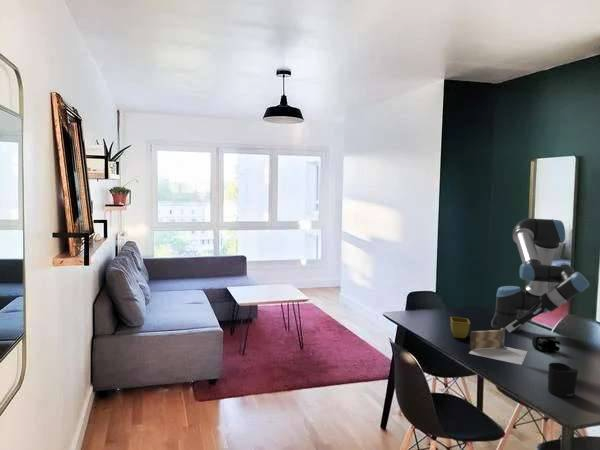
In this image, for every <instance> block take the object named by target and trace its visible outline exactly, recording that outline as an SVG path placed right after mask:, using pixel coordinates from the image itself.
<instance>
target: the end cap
mask: <svg viewBox="0 0 600 450" xmlns="http://www.w3.org/2000/svg"><path fill="white" fill-rule="evenodd" d="M531 344H532V348H533V349H534V350H536V351H538V352H539V353H543V354H549V355H551V354H554V355H555V354H557V353H560V352H559V351H560V345H561V341H560V340H559V339H557V338H556V336H533V338H532V340H531ZM558 345H559V346H558Z"/></svg>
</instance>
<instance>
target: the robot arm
mask: <svg viewBox="0 0 600 450" xmlns="http://www.w3.org/2000/svg"><path fill="white" fill-rule="evenodd" d="M511 235H512V236H511V237H512V241H513V242H514V243H516V246H517V249H518V253H519V256H520V260H521V264H520V266H519V279H520V280H522V281H523V280H524V281H528V282H529V283H528V284H527V285H526V286H525V289H521V287H520V286H517V285H516V286H515V285H504V286H499V287H498V288H497V291H496V300H495V301H496V302H495V312H494V315H493V318H492V319H491V322H490V326H491V328H492V329H494V330H500V331H501V328H505V332H508V333H513V332H514V333H517V332H520V331H521V329H522V326H521V325H525V324H526V323H527V322H529V321H531V320H533V319H534V318H535V317H537V316H539V315H541V314H546V313H548V312H554V311H555V310H557V309H558V308H559V307H560V306H562V305H566V304H567V302H568V301H570V300H571V299H573V298H574V297H576V296H577V295H579V294H581V293H582V292H584V291H585V290H587V289H588V288H589V287H590V284H591V283H590V282H589V281H588V280H587V278H586V277H585V276H584V275H583V274H582V273H581V272H579V271H575V269H574V268H573V267H572V266H571V265H570V264H568V263H566V262H560V263H557V264H556V265H552V264H553V260H554V255H555V250H557V249H558V248H559V246H560V244H564V243H565V241H566V229H565V224H564V222H563V221H562V220H560V219H553V218H552V219H547V218H546V219H545V218H533V217H532V218H524V219H522V220H521V221H519V222H517V223H516V225H515V226H514V227H513V230H512V233H511ZM549 283H554V284H557V285H555V286H553V287H552V288H550V289H548V285H549ZM519 312H525V313H523V314H521V315H520V316H519Z"/></svg>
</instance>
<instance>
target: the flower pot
mask: <svg viewBox="0 0 600 450" xmlns="http://www.w3.org/2000/svg"><path fill="white" fill-rule="evenodd" d="M449 320H450V331H451V333H452V336H453V338H456V339H466V337H467V336H468V334H469V331H470V327H471V322H470V320H469V319H468V318H464V317H456V316H450V318H449Z"/></svg>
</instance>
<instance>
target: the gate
mask: <svg viewBox="0 0 600 450" xmlns="http://www.w3.org/2000/svg"><path fill="white" fill-rule="evenodd" d="M505 336H506V331H505V328H501V330H497V329H494V330H493V329H492V330H491V329H489V330H471V331H470V337H469V349H470V350H473V349H484V348H498V347H504V346H505Z"/></svg>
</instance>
